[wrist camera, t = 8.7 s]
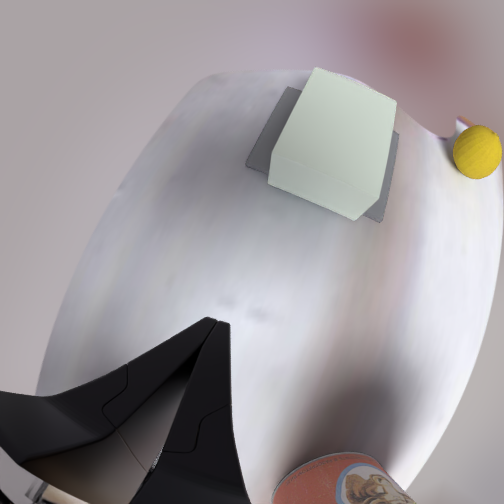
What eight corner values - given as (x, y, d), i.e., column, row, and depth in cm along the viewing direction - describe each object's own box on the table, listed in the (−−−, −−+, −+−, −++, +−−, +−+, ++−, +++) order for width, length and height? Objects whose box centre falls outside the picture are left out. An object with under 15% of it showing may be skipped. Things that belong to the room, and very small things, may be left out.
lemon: (444, 140, 25) (478, 104, 17) (474, 166, 25) (511, 137, 17) (438, 170, 24) (479, 134, 16) (470, 198, 24) (514, 170, 16)
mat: (379, 222, 23) (382, 220, 22) (245, 165, 24) (245, 162, 23) (396, 136, 25) (399, 133, 24) (287, 90, 26) (287, 86, 25)
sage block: (378, 198, 17) (396, 101, 19) (271, 152, 18) (315, 66, 20) (354, 221, 22) (377, 131, 24) (267, 184, 23) (306, 100, 25)
